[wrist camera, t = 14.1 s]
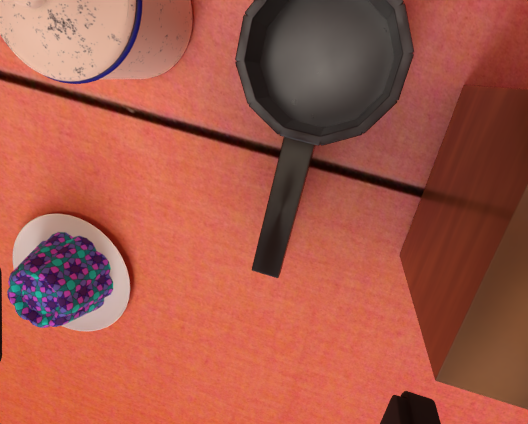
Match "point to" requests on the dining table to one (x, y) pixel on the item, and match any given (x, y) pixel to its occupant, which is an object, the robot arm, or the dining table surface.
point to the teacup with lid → (97, 37)
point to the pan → (317, 88)
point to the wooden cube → (476, 248)
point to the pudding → (67, 275)
